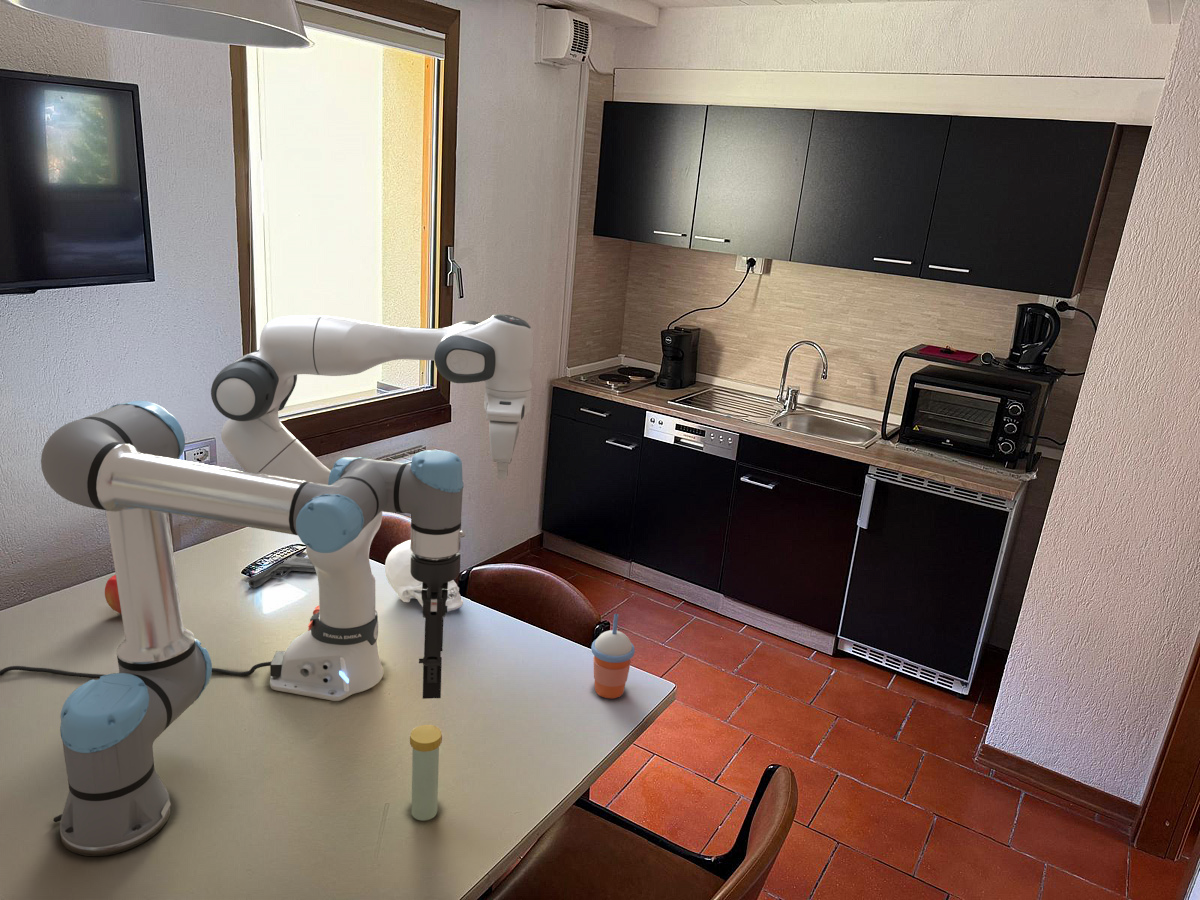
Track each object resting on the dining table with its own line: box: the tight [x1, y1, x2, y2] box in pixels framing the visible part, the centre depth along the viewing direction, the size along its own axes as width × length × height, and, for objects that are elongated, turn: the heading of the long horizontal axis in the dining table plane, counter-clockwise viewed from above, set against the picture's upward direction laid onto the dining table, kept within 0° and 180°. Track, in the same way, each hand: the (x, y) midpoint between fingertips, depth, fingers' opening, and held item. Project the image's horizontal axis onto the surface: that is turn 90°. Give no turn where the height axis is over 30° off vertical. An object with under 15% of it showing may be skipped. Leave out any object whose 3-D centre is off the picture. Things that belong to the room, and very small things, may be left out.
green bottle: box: [411, 746, 440, 822], centre depth 141 cm, size 4×4×15 cm
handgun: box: [248, 554, 316, 588], centre depth 220 cm, size 2×18×12 cm
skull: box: [384, 539, 465, 612], centre depth 211 cm, size 13×22×16 cm, turn 67°
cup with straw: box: [590, 613, 636, 699], centre depth 179 cm, size 9×9×18 cm
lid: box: [409, 724, 443, 752], centre depth 139 cm, size 5×5×2 cm
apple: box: [104, 574, 122, 615], centre depth 195 cm, size 10×10×10 cm
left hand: (433, 672), depth 137 cm, fingers open, 13 cm apart
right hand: (504, 470), depth 166 cm, fingers open, 8 cm apart
